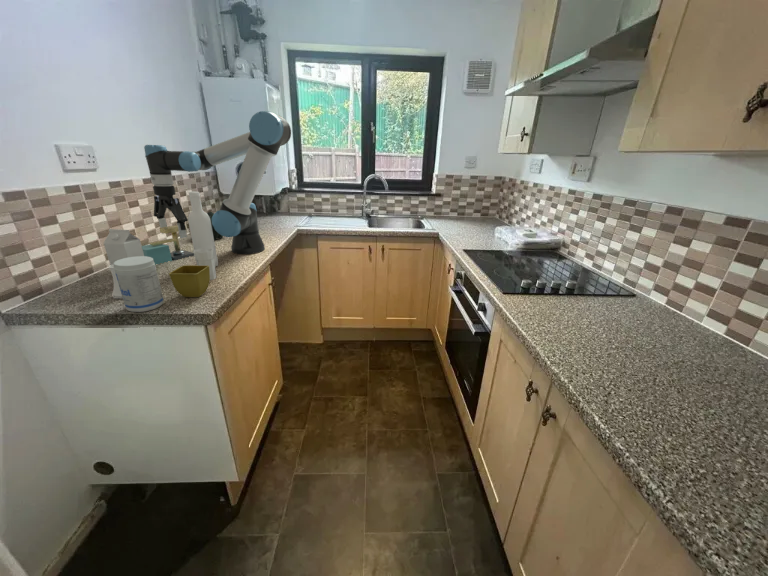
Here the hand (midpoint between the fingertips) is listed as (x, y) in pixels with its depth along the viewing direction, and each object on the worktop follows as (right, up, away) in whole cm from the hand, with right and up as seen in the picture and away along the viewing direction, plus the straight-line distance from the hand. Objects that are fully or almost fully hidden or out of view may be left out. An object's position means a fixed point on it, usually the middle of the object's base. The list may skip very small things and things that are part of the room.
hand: (174, 235), depth 140 cm
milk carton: (+2, -21, -26) cm, 33 cm away
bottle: (+19, -14, -7) cm, 25 cm away
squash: (-2, +4, +36) cm, 36 cm away
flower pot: (+30, -26, -34) cm, 52 cm away
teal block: (-5, -12, -5) cm, 14 cm away
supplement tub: (+21, -29, -43) cm, 56 cm away
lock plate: (0, -9, +4) cm, 10 cm away
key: (-1, -7, 0) cm, 7 cm away
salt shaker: (+8, -26, -36) cm, 45 cm away
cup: (+27, -20, -20) cm, 39 cm away
